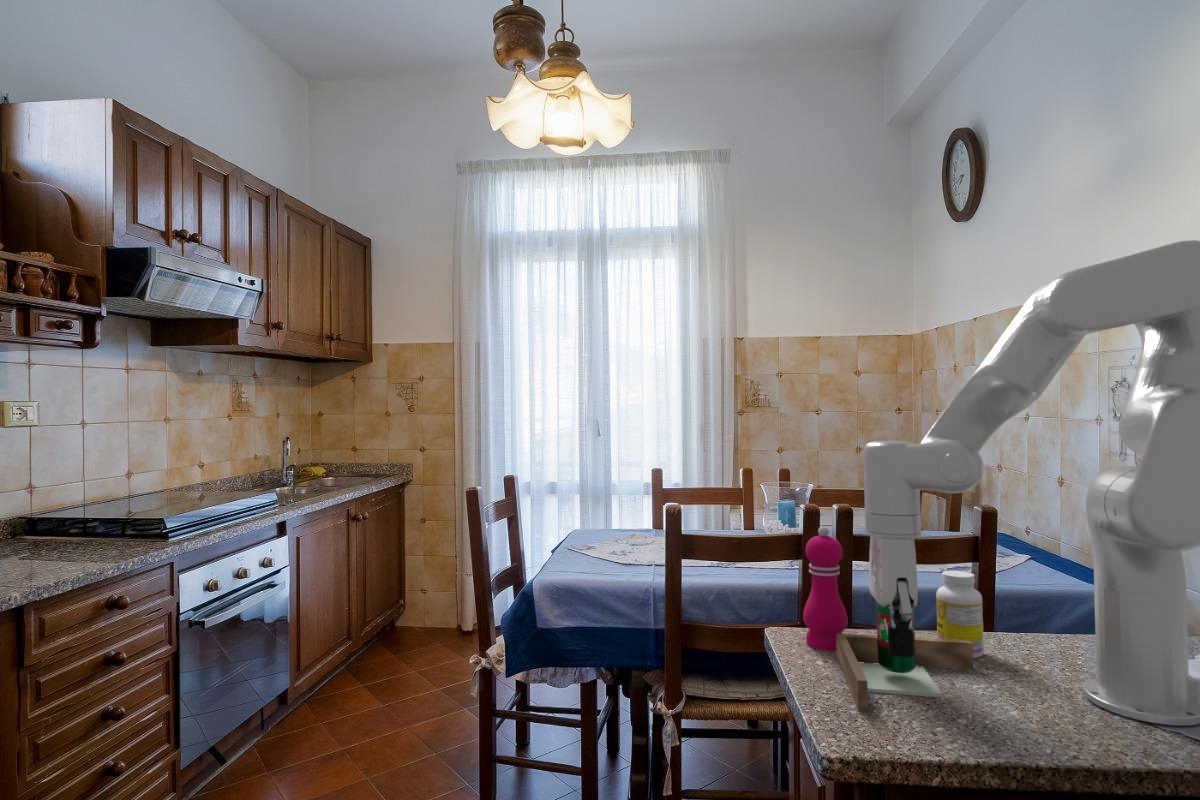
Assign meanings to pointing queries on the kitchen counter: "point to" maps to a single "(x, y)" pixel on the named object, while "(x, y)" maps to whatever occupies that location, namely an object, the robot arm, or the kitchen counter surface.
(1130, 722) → the kitchen counter surface
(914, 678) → the pad
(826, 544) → the pepper mill
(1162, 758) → the kitchen counter surface
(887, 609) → the soda can
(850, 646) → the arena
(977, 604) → the supplement bottle
